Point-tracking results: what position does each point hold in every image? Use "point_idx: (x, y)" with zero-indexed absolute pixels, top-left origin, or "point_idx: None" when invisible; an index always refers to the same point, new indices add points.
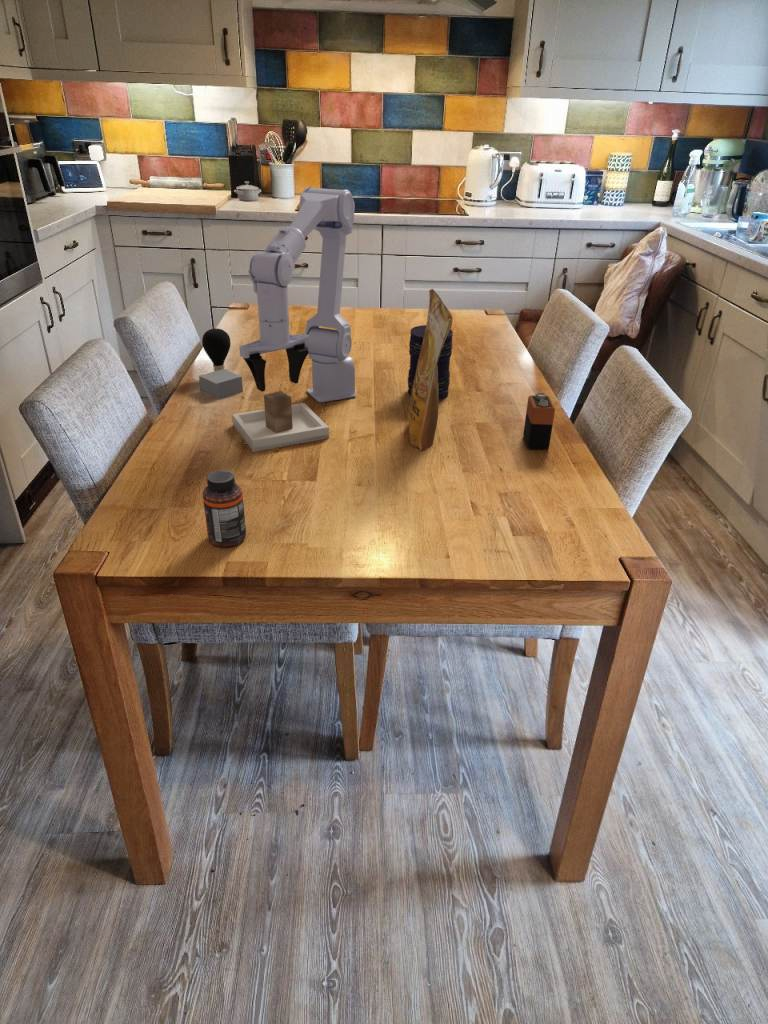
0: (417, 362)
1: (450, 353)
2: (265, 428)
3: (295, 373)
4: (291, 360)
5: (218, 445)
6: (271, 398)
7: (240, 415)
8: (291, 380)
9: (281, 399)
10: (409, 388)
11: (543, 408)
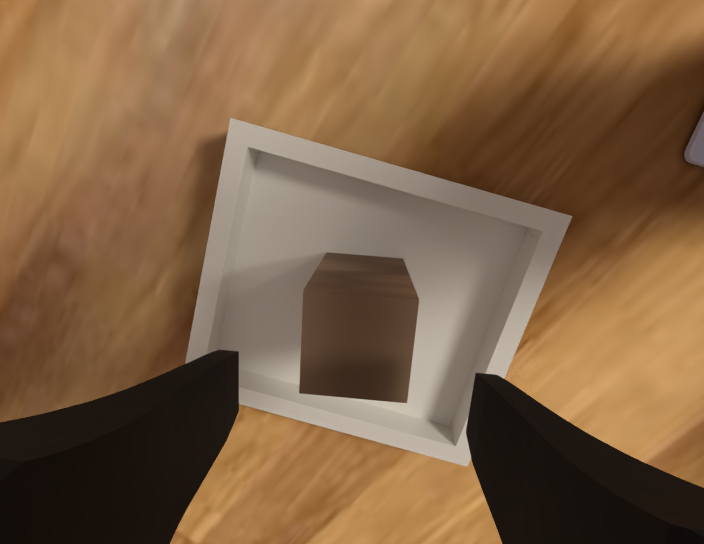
0: None
1: None
2: (315, 265)
3: (489, 491)
4: (544, 522)
5: (126, 249)
6: (309, 357)
7: (258, 149)
8: (474, 393)
9: (346, 396)
10: None
11: None
